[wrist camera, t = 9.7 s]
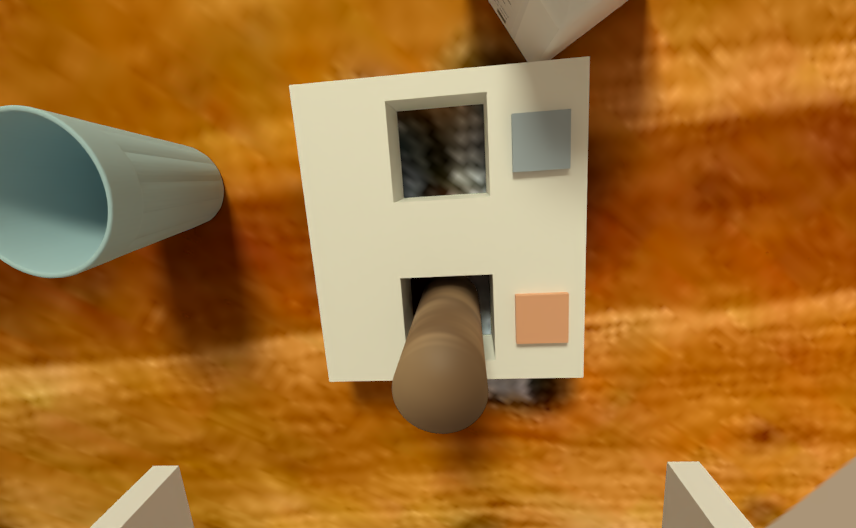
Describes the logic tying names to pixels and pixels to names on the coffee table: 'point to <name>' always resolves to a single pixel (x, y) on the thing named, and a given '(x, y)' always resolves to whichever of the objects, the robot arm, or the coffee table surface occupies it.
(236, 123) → the coffee table surface
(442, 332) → the dowel
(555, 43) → the container
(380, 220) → the socket board
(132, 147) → the cup
